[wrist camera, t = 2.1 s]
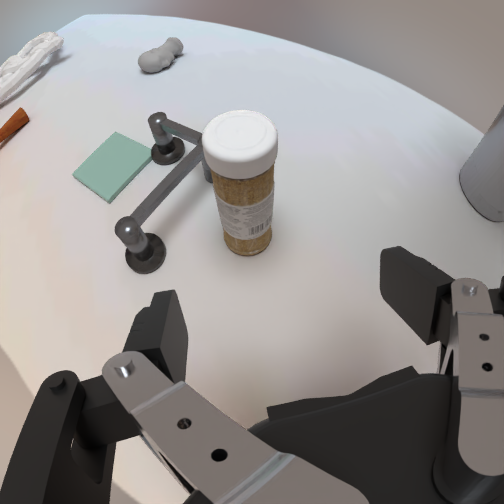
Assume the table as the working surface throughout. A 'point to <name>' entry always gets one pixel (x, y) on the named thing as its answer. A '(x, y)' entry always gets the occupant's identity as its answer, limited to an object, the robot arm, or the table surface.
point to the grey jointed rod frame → (159, 191)
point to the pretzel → (27, 62)
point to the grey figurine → (160, 56)
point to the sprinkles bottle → (243, 176)
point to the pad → (113, 166)
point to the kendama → (13, 124)
